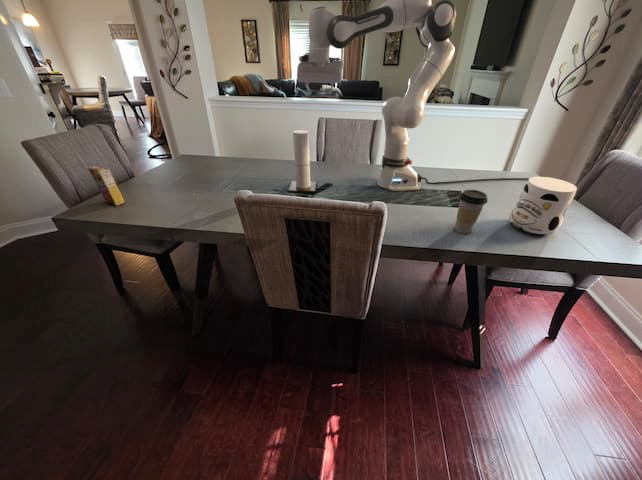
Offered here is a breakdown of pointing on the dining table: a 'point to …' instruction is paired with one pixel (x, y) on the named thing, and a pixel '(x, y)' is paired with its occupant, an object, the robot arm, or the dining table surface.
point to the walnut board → (295, 189)
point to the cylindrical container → (302, 158)
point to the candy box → (106, 185)
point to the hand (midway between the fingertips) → (319, 94)
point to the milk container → (542, 205)
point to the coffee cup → (469, 210)
